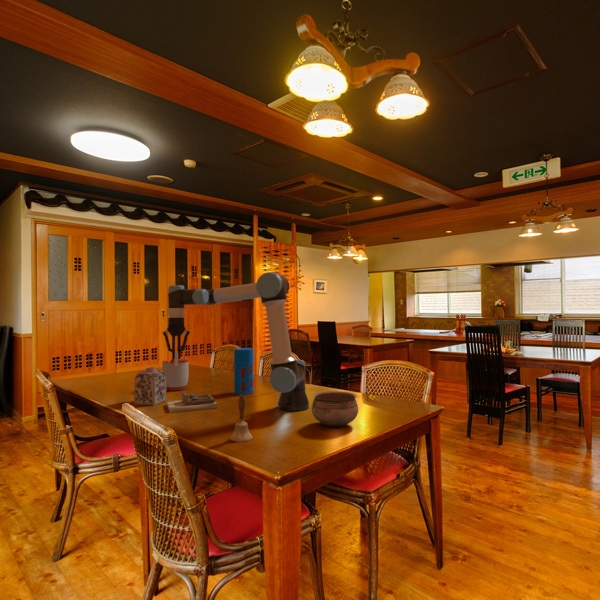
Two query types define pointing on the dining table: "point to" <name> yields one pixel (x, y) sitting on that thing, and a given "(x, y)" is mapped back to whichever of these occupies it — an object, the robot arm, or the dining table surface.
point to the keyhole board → (180, 406)
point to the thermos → (243, 371)
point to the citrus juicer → (176, 374)
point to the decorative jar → (150, 387)
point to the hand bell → (241, 425)
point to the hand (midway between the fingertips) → (176, 365)
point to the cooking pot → (335, 408)
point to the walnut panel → (200, 400)
